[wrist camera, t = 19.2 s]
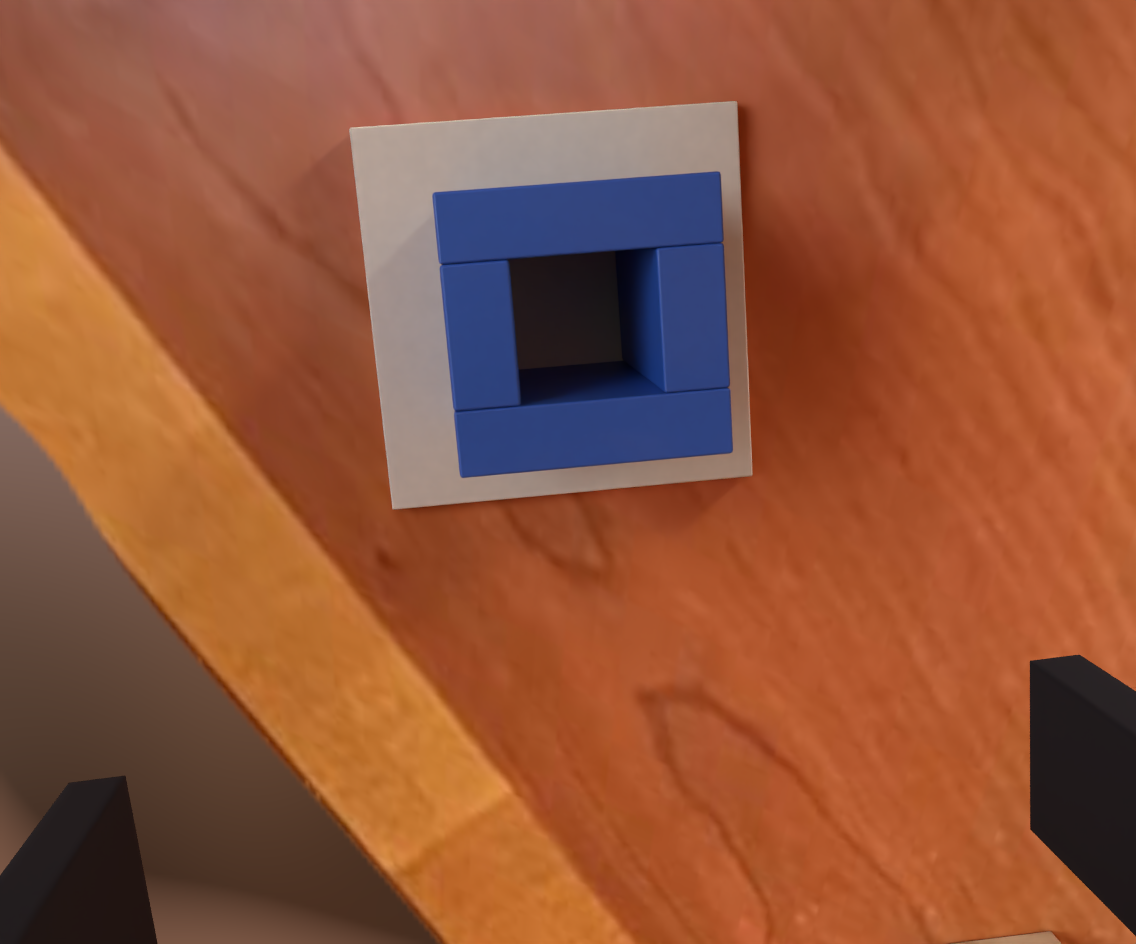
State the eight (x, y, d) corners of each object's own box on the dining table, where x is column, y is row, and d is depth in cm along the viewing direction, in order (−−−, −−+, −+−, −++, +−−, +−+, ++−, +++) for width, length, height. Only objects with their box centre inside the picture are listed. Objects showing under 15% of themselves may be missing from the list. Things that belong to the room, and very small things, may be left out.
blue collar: (462, 426, 35) (460, 478, 27) (441, 204, 34) (432, 192, 26) (676, 407, 35) (734, 453, 28) (664, 187, 34) (721, 170, 26)
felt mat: (393, 506, 36) (392, 509, 35) (351, 129, 33) (349, 127, 33) (749, 473, 37) (753, 476, 36) (734, 102, 34) (737, 100, 34)
